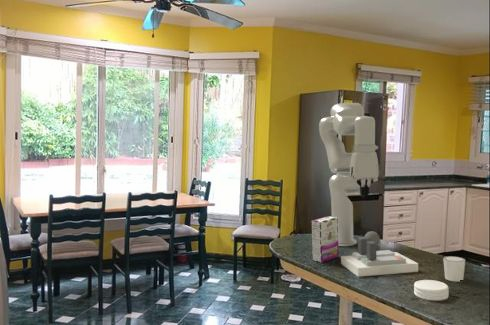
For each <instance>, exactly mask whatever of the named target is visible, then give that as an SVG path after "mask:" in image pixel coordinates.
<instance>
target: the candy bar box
mask: <svg viewBox="0 0 490 325" xmlns="http://www.w3.org/2000/svg"><path fill="white" fill-rule="evenodd" d="M311 244H312V245H311V247H312V248H311V249H312V252H311V253H312V261H313V260H314V261H313V262H317V261H318V263H324V262H327V261H331V260H333V259H336V258H339V256H340V255H339V246H338V218H337V217H332V215H331V216H324V217H321V218H317V219H314V220H311Z"/></svg>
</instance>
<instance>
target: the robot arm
mask: <svg viewBox="0 0 490 325" xmlns="http://www.w3.org/2000/svg"><path fill="white" fill-rule="evenodd" d="M318 130H319V135H320V139H321V141H322V142H323V145H324V147H325V150H326V157H327V160H328V167H329V170H330V172H331V173H333V174H334V175H332V176H330V178H329V181H328V185H329V186H328V187H329V192H330V201H331V202H330V203H331V217H337V218H338V247H353V246H355V245H358V240H356V239H355V238H354V205H353V202H352V201H351V200H350V199H349V197H348V196H354V195H357V196H358V195H360V197H361V198H369V194H370V187H371V185H372V183H374V182H378V180H379V160H378V156H377V155H378V154H377V152H376V150H378V149H379V145H376V120H375V118H374V117H373V116H368V115H365V109H364V107H363V105H362V104H361V103H360V102H342V103H341V102H340V103H335V104H334V105H333V106H332V107H331V109H330V116H326V117H323V118H322V119H320V121H319V123H318ZM337 135H340V136H354V152H347V151H346V148H345V145H344V143H343V141H342V140H341V139H340V138H339V137H337Z"/></svg>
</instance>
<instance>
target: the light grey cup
mask: <svg viewBox="0 0 490 325" xmlns="http://www.w3.org/2000/svg"><path fill="white" fill-rule="evenodd" d="M442 259H443V268H444V269H443V270H444V278H445V280H446V281H447V280H448V281H449V282H450V281H451V282H461V281H460V280H464V273H465V265H466V259H465V258H463V257H459V256H452V255H451V256H444V257H443V258H442Z"/></svg>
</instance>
